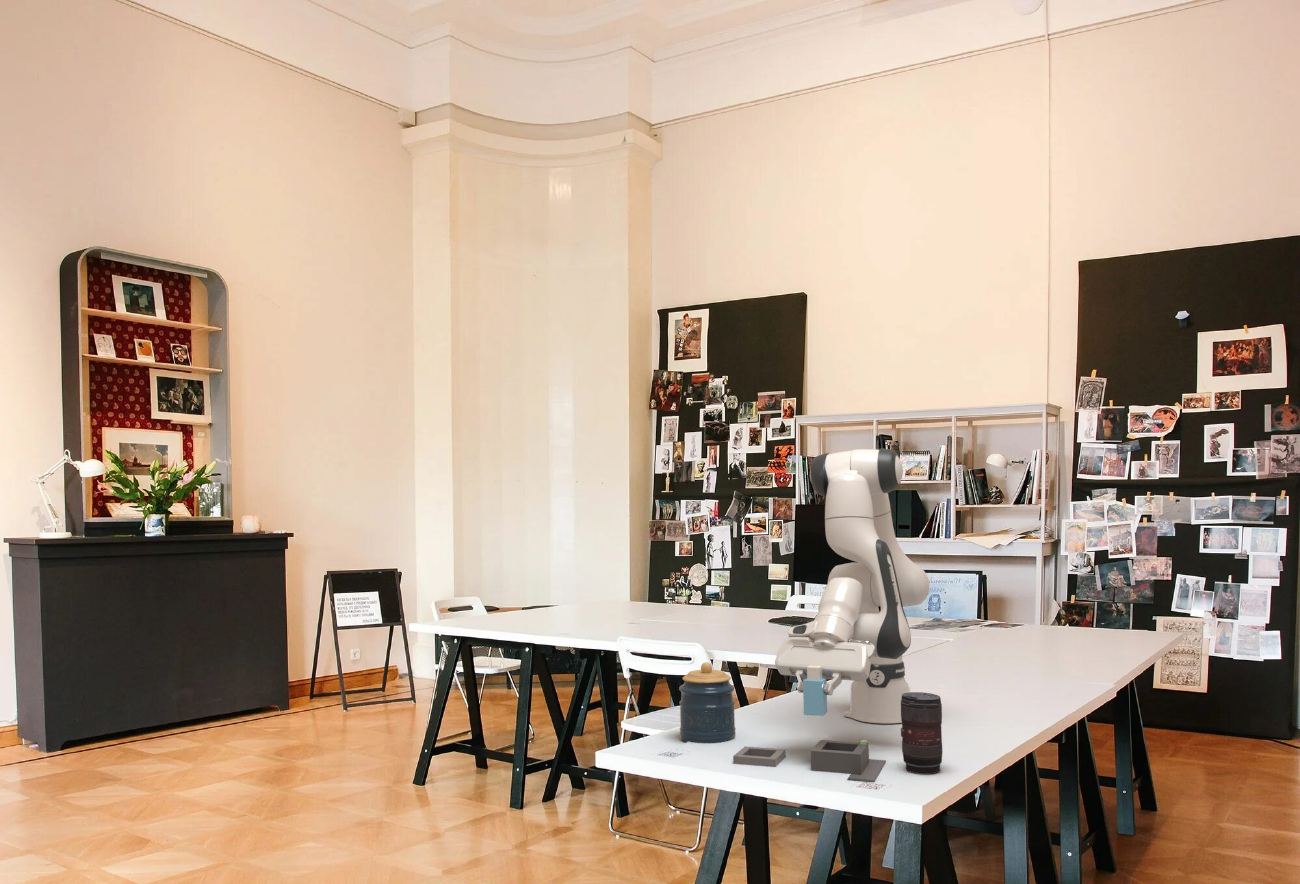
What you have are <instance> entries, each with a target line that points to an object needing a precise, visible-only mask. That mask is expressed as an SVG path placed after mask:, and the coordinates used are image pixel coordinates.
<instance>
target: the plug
mask: <svg viewBox="0 0 1300 884" xmlns="http://www.w3.org/2000/svg"><path fill="white" fill-rule="evenodd" d="M827 680H828V679H827V678H822V666H812V665H810V666H808V667H807V677H806V678H805V679H804V680H802V681H803V693H802V694H803V695H802V696H803V698H802V699H803V715H804V716H815V717H816V716H819V717H824V716H826V714H827V713H828V695H825V693H824V692H823V689H824V685H825V684H828V683H827Z"/></svg>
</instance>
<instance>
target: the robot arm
mask: <svg viewBox="0 0 1300 884" xmlns="http://www.w3.org/2000/svg"><path fill="white" fill-rule="evenodd" d="M903 473H904V470H903V464H902V461H901V459H900V456H899V454H898V453H897V452H896V451H894V450H893V449H889V448H882V447H881V448H879V449H874V448H873V449H872V448H855V449H853V450H846V451H837V452H833V453H828V452H826V453H823V454H820V455H817V456H815V458H813V460H812V461H811V464H810V470H809V480H810V482H811V486H812V488H813V491H815V493H817V494H818V495H820V496H822V497H823V498H824V499H825V503H824V504H825V505H824V528H825V529H824V530H825V538H826V542H827V544H828V546H829V547H830V548H831V549H832V550H833V551H834V553H836V554H837V555H839V556H841V557H843V558H845V559H848V560H850V561H852V562H848V563H843V564H838V565H835V566H834V567H833V568H832V569H831V571H830V572H829V575H828V577H827V578H828V579H827V584H826V586H825V587H824V591H823V593H822V595H821V599H819V604H818V608H817V609H818V612H817V615H816V616H815V617H814V620H812V621H810V622H807V623H803V624H800V625H794V626H790V627H789V629H788V631H787V635H788V637H787V638H786V639H783V641H782V643H781V645H780V647H779V649H778V652H777V654H776V656H775V657H776V658H775V661H774V664H775V667H776V669H777V670H778V672H779V674H780V675H782V676H788V677H789V676H790V677H792V676H793V677H796V678H797V686H796V690H797V692H798V693H800V694H801V693H802V694H803V680H804V679H806V678H807V667H808V666H810V665H812V666H822V678H826V680H828V679H830V681H829V682H828V683H827V684H825V685H824V689H823V692H824V693H825V695H827V696H833V693H834V691H835V689H836V688H838V687H839V686H840V685H841V684H842V682H843V680H844V681H852V682H851V683H850V708H849V709H847V710H845V711H844V712H843V716H844V717H846V718H851V719H854V720H856V721H859V722H864V723H871V724H872V723H873V724H900V723H901V724H902V721H901V699H902V694H903V693H908V692H911V686H910V685H909V683H908V682H907V681H906V679H905V676H906V674H905V672H906V667H905V662H904V661H903V655H904V654H905V653H906V652H907V651H908V649H909V648H910V647H911V643H912V639H911V638H912V636H911V635H912V634H911V630H910V625H909V623H908V619H907V616H906V613H905V609H904V608H906V607H907V608H908V607H914V606H917V605H918V606H919V605H921V604H923V603H924V602H925V600H926V599H927V596H928V595H929V591H930V581H929V577H928V574H927V573H926V571H925V570H924V569H923V568H922V567H921V566H920V565H918V564H916V563H915V562H913V561H912V560H911V559H910V558H909V557H908V556H907V555H906V554H905V552H904V551H903V549H902V548H901V546H900V544H899V543H898V540H897V538H896V533H895V529H894V524H893V518H892V510H891V509H892V508H891V502H890V498H889V493H891V492H893V491H895V490H897V488H898V487H900V486H901V482H902V479H903ZM879 607H880V609H879Z"/></svg>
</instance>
